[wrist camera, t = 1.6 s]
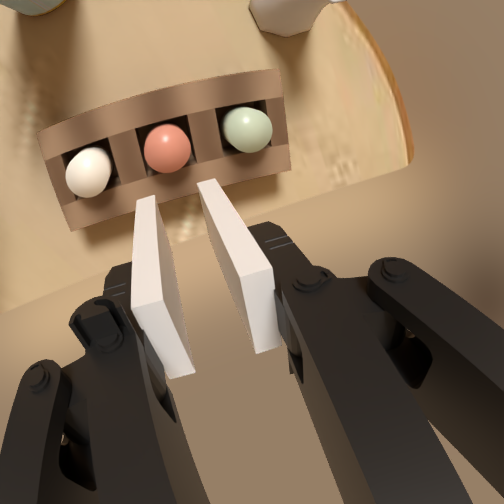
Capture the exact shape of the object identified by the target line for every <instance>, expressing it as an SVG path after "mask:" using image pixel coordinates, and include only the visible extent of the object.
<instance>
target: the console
mask: <svg viewBox="0 0 504 504" xmlns="http://www.w3.org/2000/svg"><path fill="white" fill-rule="evenodd" d="M236 106H245V107H249V108H252V109H256V110H259V111H261V112H263V113H264V114H266V115H267V116H268V118H269V119H270V121H271V124H272V136H271V139H270V141H269V142H268V144H267V145H266V146H265V147H264V148H263V149H261V150H259V151H257V152H253V153H246V152H242V151H240V150H238V149H237V148H235V147H234V146H233V145H232V144H230V143H229V142H228V141H227V140H226V139H225V138H224V137H223V136H222V134H221V131H220V122H221V119H222V117H223V115H224V114H225V113H226V112H227V111H228V110H229V109H231V108H233V107H236ZM161 123H173V124H176V125H177V126H179V127H180V128H181V129H182V130H183V131H184V133H185V135H186V136H187V138H188V139H189V142H190V146H191V153H190V157H189V159H188V161H187V162H186V164H185V165H184V166H183V167H182V168H180V169H179V170H177V171H175V172H171V173H161V172H158V171H156V170H154V169H152V168H151V167H150V166H149V165H148V163H147V161H146V159H145V156H144V147H145V140H146V137H147V134H148V133H149V131H150V130H151V129H152V128H153V127H154V126H156V125H158V124H161ZM36 135H37V138H38V141H39V145H40V148H41V151H42V155H43V158H44V161H45V164H46V167H47V170H48V173H49V176H50V179H51V182H52V185H53V187H54V190H55V193H56V195H57V198H58V201H59V203H60V206H61V209H62V211H63V214H64V216H65V219H66V221H67V223H68V226H69V228H70V231H71V232H72V231H75V230H78V229H81V228H84V227H87V226H89V225H92V224H95V223H98V222H101V221H105V220H108V219H111V218H114V217H117V216H120V215H123V214H126V213H130V212H133V211H136V202H137V200H139V199H142V198H145V197H149V196H152V195H155V197H156V201H157V204H160V203H163V202H166V201H170V200H174V199H177V198H181V197H184V196H188V195H192V194H195V193H199V191H198V187H197V183H199V182H202V181H206V180H210V179H214V178H215V179H216V180H217V182H218V184H219V185H220V187H222V186H226V185H230V184H234V183H238V182H242V181H246V180H250V179H254V178H259V177H263V176H267V175H272V174H276V173H281V172H285V171H290V170H291V162H290V152H289V143H288V133H287V125H286V116H285V108H284V100H283V92H282V84H281V76H280V69H268V70H258V71H250V72H243V73H237V74H230V75H224V76H218V77H213V78H208V79H202V80H197V81H193V82H188V83H183V84H179V85H175V86H170V87H166V88H162V89H158V90H155V91H151V92H147V93H144V94H140V95H136V96H133V97H130V98H126V99H123V100H120V101H117V102H114V103H110V104H107V105H104V106H102V107H99V108H96V109H93V110H90V111H87V112H85V113H82V114H79V115H77V116H74V117H71V118H69V119H66V120H64V121H61V122H59V123H57V124H54V125H52V126H50V127H47V128H45V129H43V130H41V131H39V132H37V133H36ZM91 145H98V146H101V147H104V148H105V149H106V150H108V152H109V153H110V154H111V156H112V159H113V170H112V173H111V175H110V177H109V180H108V182H107V185H106V187H105V188H104V190H103V191H102V192H101V193H99V194H98V195H96V196H94V197H89V198H84V197H80V196H78V195H76V194H74V193H73V192H72V191H71V190H70V189H69V187H68V185H67V182H66V169H67V167H68V165H69V163H70V162H71V161H72V159H73V158H74V157H75V156H76V155H77V154H78V153H79V152H80V151H81V150H82V149H84V148H85V147H87V146H91Z"/></svg>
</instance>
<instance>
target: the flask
mask: <svg viewBox="0 0 504 504" xmlns="http://www.w3.org/2000/svg"><path fill="white" fill-rule="evenodd" d="M343 1H347V0H250V3H249V8H250V10H251V12H252V14H253V16H254V18H255V20H256V22H257V25H258V27H259V29H260V30H262V31H266V32H270V33H273V34H277V35H280V36H283V37H289V36H292V35H295V34H299V33H302V32H305V31H309V30H310V29H311V27H312V25H313V23H314V22H315V20H316V18H317V16H318V15H319V13H320V12H321V10H322V9H323V8H324V7H325V6H326V5H328V4H329V3H331V4H333V3H338V2H343Z"/></svg>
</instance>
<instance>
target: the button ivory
mask: <svg viewBox="0 0 504 504" xmlns="http://www.w3.org/2000/svg"><path fill="white" fill-rule="evenodd" d="M112 170H113V159H112V156H111V154H110V153H109V152H108V150H106V149H105V148H104V147H101V146H98V145H91V146H87V147H85V148H84V149H82V150H81V151H80V152H79V153H78V154H77V155H76V156H75V157H74V158H73V159H72V161H71V162H70V163H69V165H68V167H67V169H66V182H67V185H68V187H69V189H70V190H71V191H72V192H73V193H74V194H76V195H78V196H80V197H84V198H89V197H94V196H96V195H98V194H99V193H101V192H102V191H103V190H104V188H105V187H106V185H107V182H108V180H109V177H110V175H111V173H112Z"/></svg>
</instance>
